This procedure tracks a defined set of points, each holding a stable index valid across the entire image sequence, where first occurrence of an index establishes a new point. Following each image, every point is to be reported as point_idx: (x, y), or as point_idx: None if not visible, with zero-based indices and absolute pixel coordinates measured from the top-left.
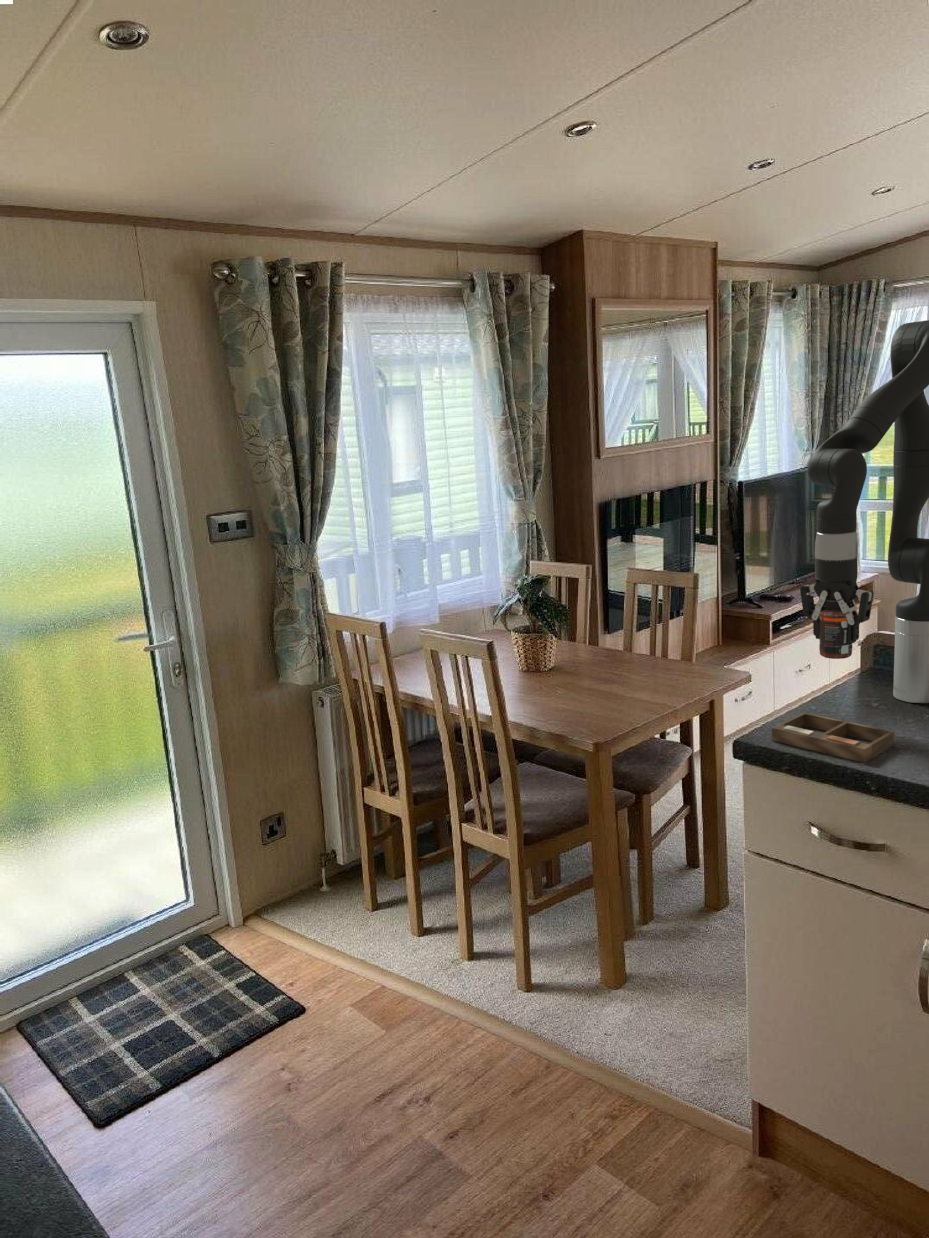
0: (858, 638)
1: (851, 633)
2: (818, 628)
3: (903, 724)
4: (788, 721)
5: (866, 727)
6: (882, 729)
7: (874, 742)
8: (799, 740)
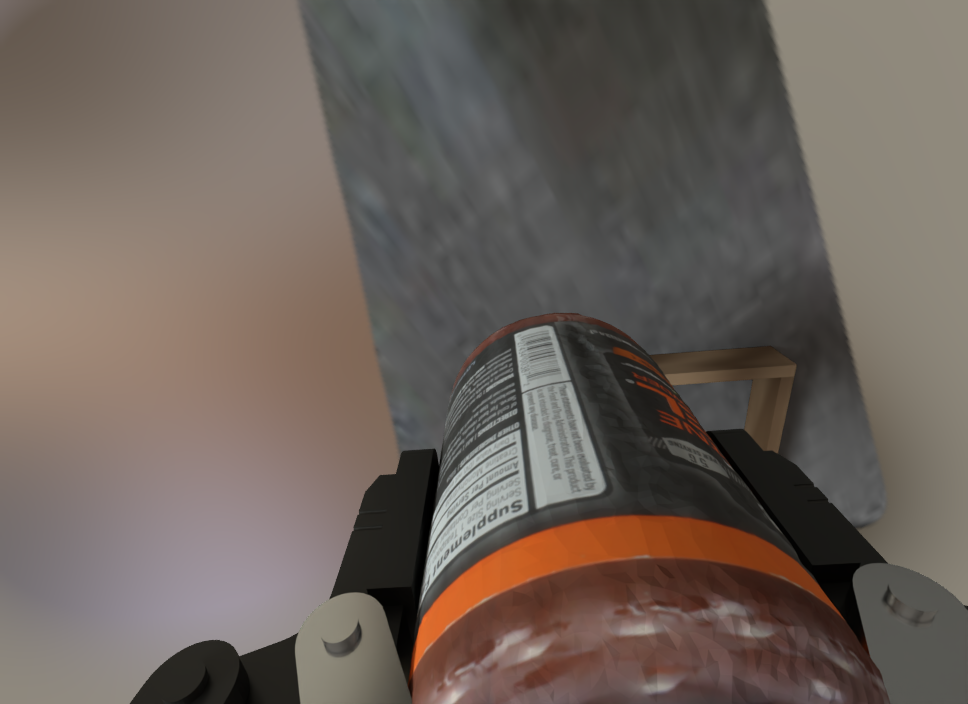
0: (780, 455)
1: None
2: None
3: (735, 143)
4: None
5: (700, 382)
6: (754, 371)
7: None
8: None
